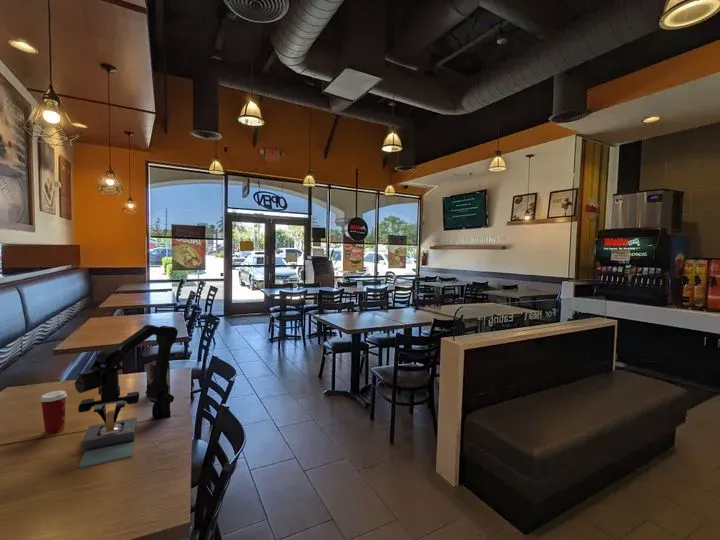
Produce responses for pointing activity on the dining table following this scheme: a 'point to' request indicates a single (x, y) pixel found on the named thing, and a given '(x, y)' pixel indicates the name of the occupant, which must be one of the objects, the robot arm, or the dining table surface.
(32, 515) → the dining table surface
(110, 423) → the grey round brown-barred piece
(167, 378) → the coffee box
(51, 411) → the coffee cup
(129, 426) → the housing
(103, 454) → the mat
